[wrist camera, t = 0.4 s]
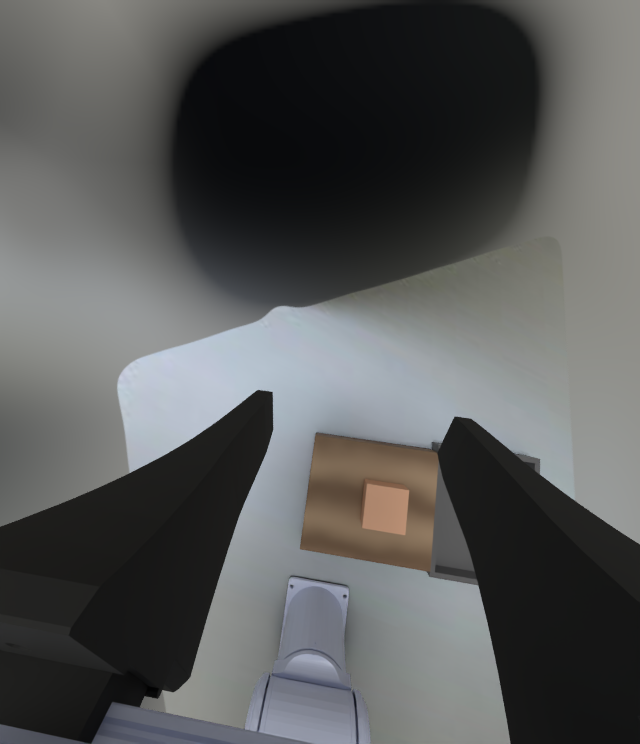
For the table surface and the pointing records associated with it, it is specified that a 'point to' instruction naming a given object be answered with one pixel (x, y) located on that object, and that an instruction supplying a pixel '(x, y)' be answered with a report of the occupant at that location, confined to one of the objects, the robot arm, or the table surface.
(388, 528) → the tile
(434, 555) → the tray
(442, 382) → the table surface
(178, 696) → the table surface
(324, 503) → the platform
